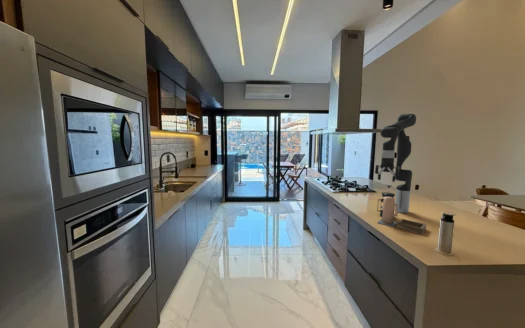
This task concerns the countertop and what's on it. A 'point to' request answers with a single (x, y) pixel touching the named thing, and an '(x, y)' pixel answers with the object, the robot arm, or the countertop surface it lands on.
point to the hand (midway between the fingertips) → (386, 180)
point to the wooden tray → (411, 226)
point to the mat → (387, 224)
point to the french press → (383, 199)
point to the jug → (389, 210)
